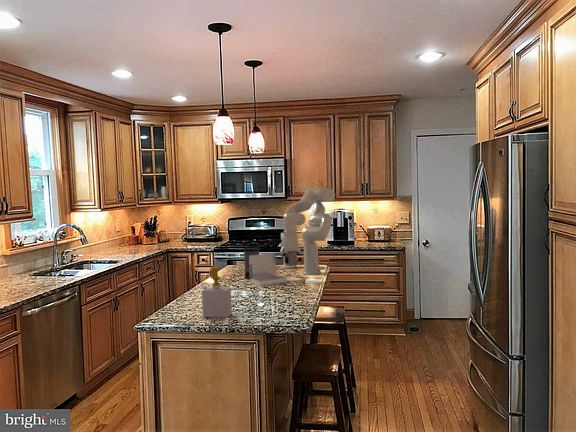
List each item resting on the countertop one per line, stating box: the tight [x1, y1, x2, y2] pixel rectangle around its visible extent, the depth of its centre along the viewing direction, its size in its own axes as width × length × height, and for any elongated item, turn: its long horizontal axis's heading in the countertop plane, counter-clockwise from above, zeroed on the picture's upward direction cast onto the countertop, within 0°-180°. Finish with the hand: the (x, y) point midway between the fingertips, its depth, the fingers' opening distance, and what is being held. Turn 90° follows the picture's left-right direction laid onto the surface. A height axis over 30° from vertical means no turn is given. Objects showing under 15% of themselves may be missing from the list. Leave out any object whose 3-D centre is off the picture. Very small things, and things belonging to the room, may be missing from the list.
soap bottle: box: [201, 265, 233, 319], centre depth 227 cm, size 12×7×23 cm, turn 80°
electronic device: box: [243, 247, 260, 280], centre depth 316 cm, size 9×6×20 cm, turn 84°
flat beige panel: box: [286, 276, 304, 283], centre depth 309 cm, size 10×12×1 cm
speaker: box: [280, 231, 297, 269], centre depth 356 cm, size 11×10×26 cm
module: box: [284, 252, 298, 266], centre depth 308 cm, size 5×7×8 cm
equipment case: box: [249, 252, 288, 287], centre depth 301 cm, size 18×14×17 cm
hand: (290, 262), depth 308 cm, fingers closed on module, 5 cm apart
